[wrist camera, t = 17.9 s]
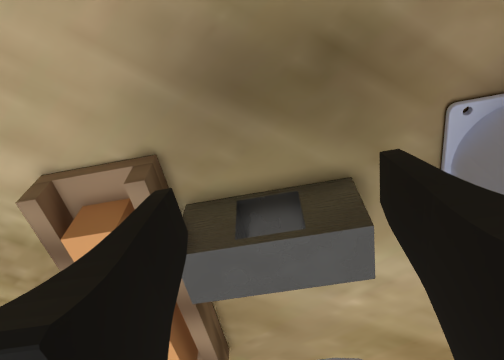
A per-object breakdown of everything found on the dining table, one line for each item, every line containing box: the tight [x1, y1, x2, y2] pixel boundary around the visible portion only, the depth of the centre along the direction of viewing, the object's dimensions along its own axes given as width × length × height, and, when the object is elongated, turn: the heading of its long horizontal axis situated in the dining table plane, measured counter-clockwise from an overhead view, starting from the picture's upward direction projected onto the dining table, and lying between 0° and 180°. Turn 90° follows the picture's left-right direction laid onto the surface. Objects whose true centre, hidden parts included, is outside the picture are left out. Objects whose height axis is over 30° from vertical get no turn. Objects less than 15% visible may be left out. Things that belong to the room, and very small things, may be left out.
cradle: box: [16, 155, 229, 360], centre depth 27 cm, size 20×8×3 cm, turn 11°
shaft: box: [61, 198, 198, 360], centre depth 26 cm, size 16×3×3 cm, turn 11°
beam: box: [182, 178, 375, 304], centre depth 23 cm, size 11×4×5 cm, turn 101°
